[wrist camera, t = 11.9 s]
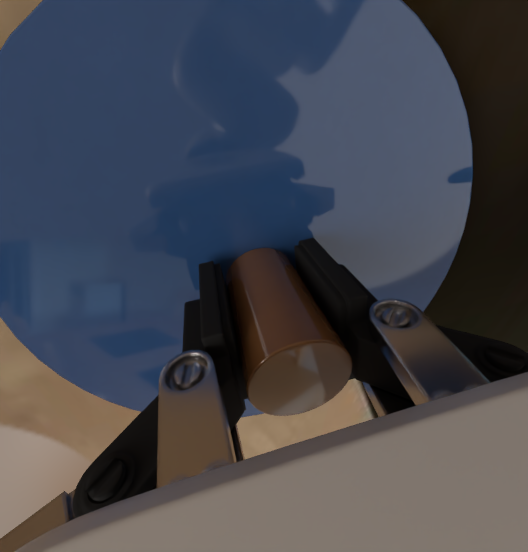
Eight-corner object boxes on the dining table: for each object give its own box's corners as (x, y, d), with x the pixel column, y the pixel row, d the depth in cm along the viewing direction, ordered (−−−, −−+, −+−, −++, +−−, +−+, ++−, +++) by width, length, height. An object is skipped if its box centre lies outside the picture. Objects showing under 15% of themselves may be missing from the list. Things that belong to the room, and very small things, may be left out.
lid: (446, -203, 7) (1393, -1365, 1) (451, 313, 17) (565, 404, 12) (-202, 152, 7) (-1193, 260, 2) (183, 439, 18) (179, 577, 12)
